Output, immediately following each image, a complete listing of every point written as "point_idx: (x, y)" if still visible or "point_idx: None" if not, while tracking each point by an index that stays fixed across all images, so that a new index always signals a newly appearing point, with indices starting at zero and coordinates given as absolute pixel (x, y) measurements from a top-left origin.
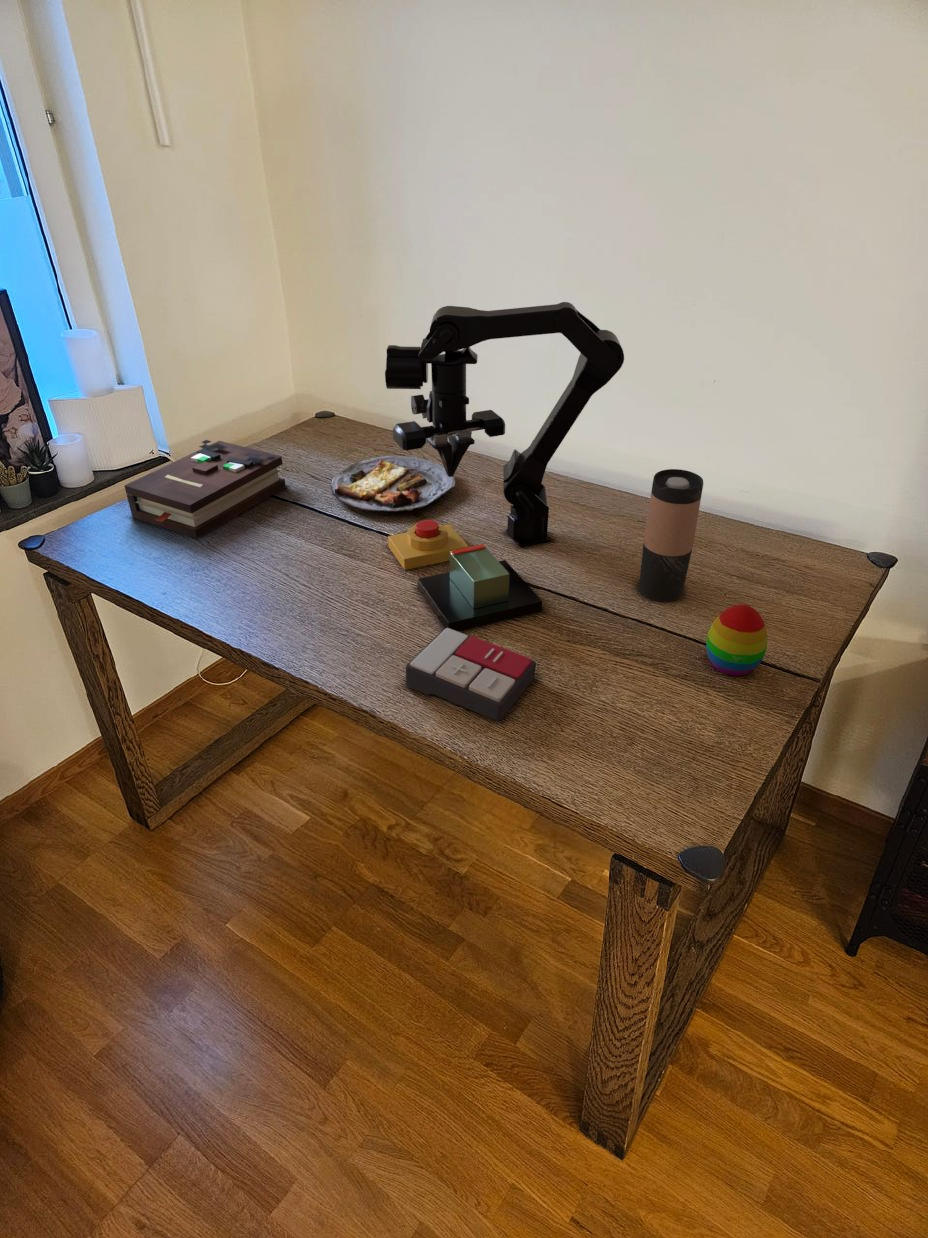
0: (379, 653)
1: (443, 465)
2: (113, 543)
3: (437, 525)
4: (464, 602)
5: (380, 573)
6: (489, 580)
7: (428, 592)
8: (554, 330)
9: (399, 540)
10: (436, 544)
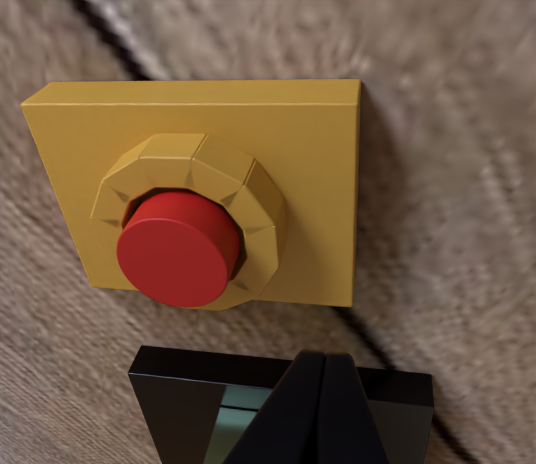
0: (50, 454)
1: (245, 433)
2: None
3: (219, 287)
4: None
5: (32, 241)
6: None
7: (149, 423)
8: None
9: (75, 164)
10: None
